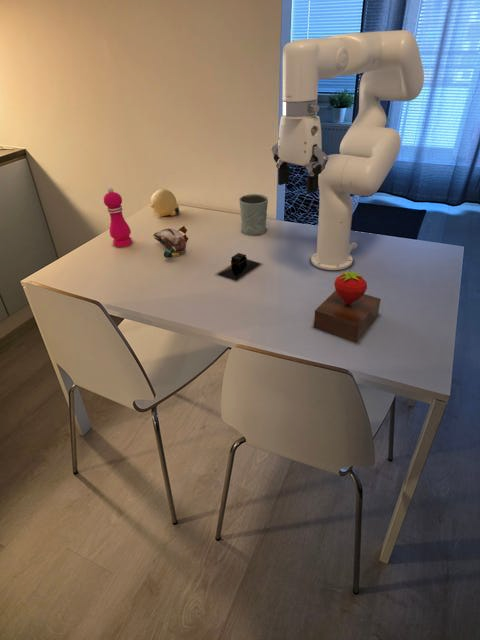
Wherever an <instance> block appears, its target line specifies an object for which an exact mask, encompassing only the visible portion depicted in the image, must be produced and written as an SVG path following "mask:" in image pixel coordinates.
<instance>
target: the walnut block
mask: <svg viewBox="0 0 480 640" xmlns="http://www.w3.org/2000/svg"><path fill="white" fill-rule="evenodd" d="M381 301H382V300H381V298H379V297H377V296H372V295H370V294H365V293H364V295H363V296H362V297H360V298H359V299H358V300H356V301H355V302H353V303H352V304H350V305H347V304H346V303H345V302H344V301H343V300H342V299H341V298H340V296H339V295H338V293H337V292H336V290H334V291H333V292H332V293H331V294H330V295H328V297H327V298H326V299H325V300H324V301H323V302H322V303H321V304H319V306H318V307H317V308H316V309H315V310H314V317H313V318H314V319H313V328H314V329H317V330H320V331H322V332H325V333H328V334H331V335H334V336H337V337H340V338H342V339H345V340H349V341H351V342H354V343H358V341H359V340H360V339H361V338H362V337H363V335H365V333H366V331H367V330H369V327H370V326H371V325H372V324H373V323H374V321H375V320H376V319H377V317H378V316H379V311H380V306H381Z"/></svg>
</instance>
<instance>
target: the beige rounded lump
mask: <svg viewBox="0 0 480 640" xmlns="http://www.w3.org/2000/svg"><path fill="white" fill-rule="evenodd" d="M149 204H150V207H151V209H153V211H154V212H155V213H156V214H157V217H158V218H161V217H167V216H171V217H172V216H173V217H174V216H177V215H178V214H179V213H180V205H179V204H178V202H177V199H176V196H175V194H174V193H173V192H172V191H170V190H169V189H167V188H160V189H158V190H156V191H154V192H153V194H152V195H151V197H150V200H149Z"/></svg>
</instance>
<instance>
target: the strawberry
mask: <svg viewBox="0 0 480 640" xmlns="http://www.w3.org/2000/svg"><path fill="white" fill-rule="evenodd" d="M340 273H341V274H340V275H338V276H337V277H335V280H334V282H333V284H334V289H335V290H336V292H337V293H338V295H339V296H340V298H341V299H342V300H343V301H344V302H345V303H346V304H347V305H350V304H352V303H353V302H355V301H356V300H358V299H359V298H360V297H362V296H363V295H364V294H365V293H366V291H367V290H368V283H367V281H366V280H365V278H363V277H364V276H363V275H361V274H360V272H354V270H353V269H352V270H351V269H349V271H346V272H345V271H340ZM335 290H334V291H335Z"/></svg>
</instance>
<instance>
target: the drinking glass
mask: <svg viewBox="0 0 480 640" xmlns="http://www.w3.org/2000/svg"><path fill="white" fill-rule="evenodd" d="M238 200H239V208H240V209H239V210H240V220H241V231H242V233H243V234H245V235H248V236H259V235H262V234H265V232H266V229H267V215H268V213H267V212H268V203H269V198H268V197H267V196H266V195H263V194H258V193H253V194H252V193H251V194H245V195H242V196H240V197H239V199H238Z"/></svg>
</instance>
